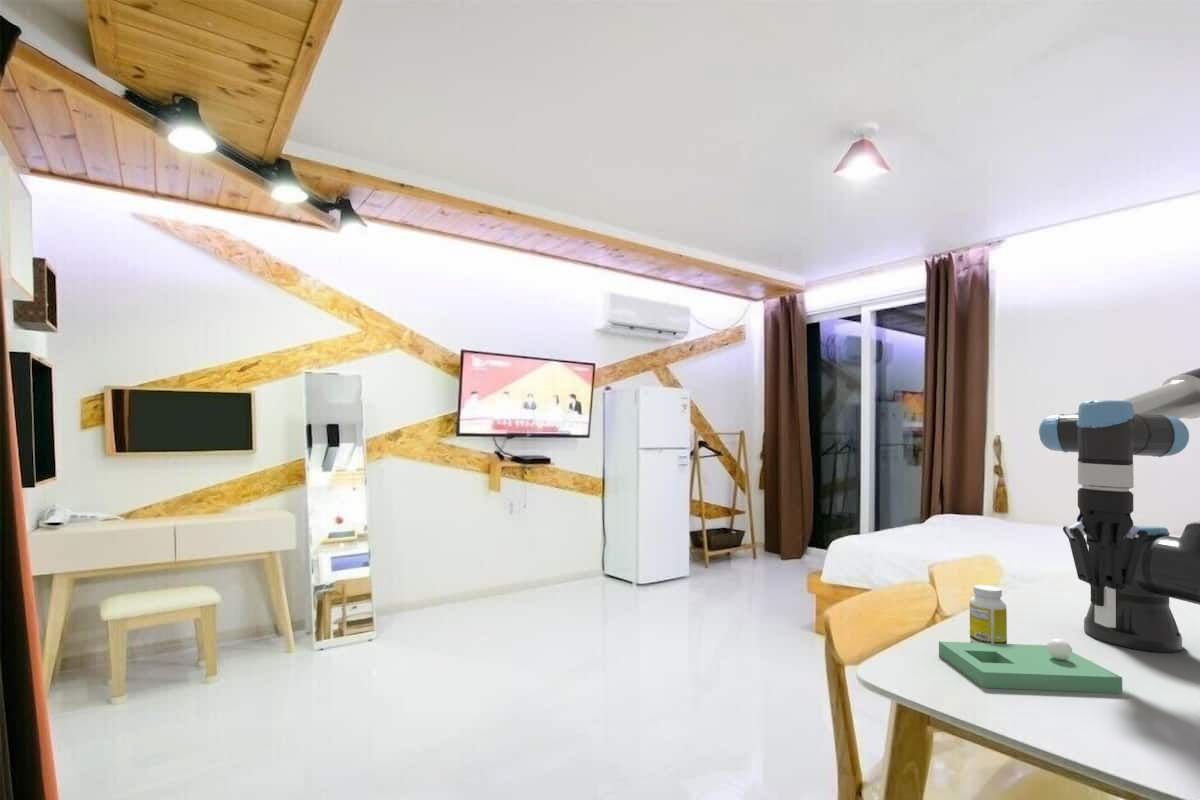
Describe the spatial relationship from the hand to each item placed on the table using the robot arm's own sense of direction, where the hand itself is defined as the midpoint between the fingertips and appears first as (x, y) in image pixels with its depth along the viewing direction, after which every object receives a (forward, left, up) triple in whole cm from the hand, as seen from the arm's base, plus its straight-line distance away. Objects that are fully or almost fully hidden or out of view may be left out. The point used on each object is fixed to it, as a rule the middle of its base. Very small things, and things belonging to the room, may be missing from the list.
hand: (1104, 624), depth 105 cm
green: (+14, 0, -9) cm, 16 cm away
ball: (+8, 0, -5) cm, 9 cm away
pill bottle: (+12, -14, -9) cm, 20 cm away
